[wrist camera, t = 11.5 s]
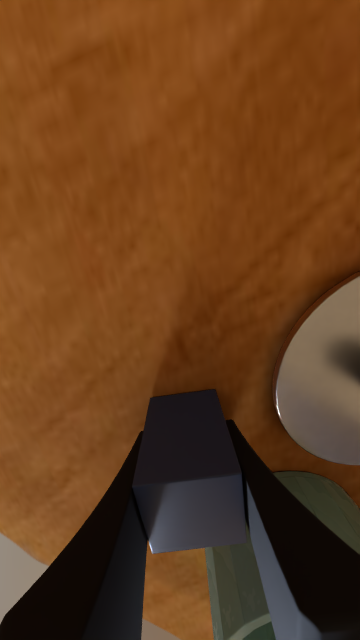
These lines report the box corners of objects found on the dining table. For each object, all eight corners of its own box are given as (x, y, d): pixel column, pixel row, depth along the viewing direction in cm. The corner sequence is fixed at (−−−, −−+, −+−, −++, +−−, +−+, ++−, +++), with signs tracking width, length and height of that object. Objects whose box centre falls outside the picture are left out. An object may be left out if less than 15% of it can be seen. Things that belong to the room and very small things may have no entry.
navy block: (215, 388, 12) (242, 473, 7) (220, 439, 13) (247, 543, 8) (150, 397, 12) (131, 487, 7) (161, 447, 13) (152, 554, 8)
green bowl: (361, 461, 14) (476, 581, 8) (345, 561, 17) (420, 692, 12) (194, 481, 14) (205, 610, 9) (211, 576, 17) (226, 709, 12)
